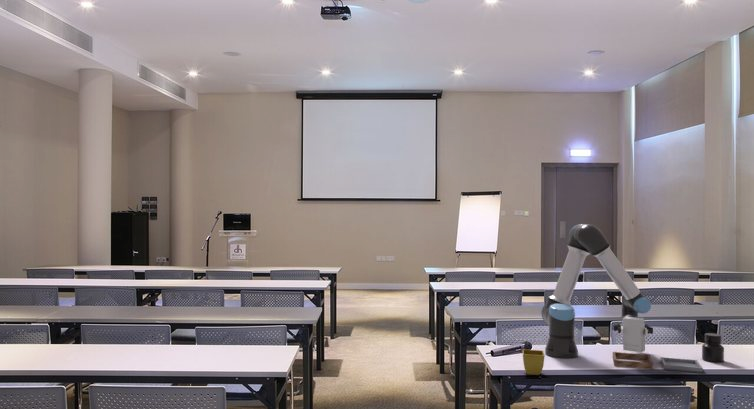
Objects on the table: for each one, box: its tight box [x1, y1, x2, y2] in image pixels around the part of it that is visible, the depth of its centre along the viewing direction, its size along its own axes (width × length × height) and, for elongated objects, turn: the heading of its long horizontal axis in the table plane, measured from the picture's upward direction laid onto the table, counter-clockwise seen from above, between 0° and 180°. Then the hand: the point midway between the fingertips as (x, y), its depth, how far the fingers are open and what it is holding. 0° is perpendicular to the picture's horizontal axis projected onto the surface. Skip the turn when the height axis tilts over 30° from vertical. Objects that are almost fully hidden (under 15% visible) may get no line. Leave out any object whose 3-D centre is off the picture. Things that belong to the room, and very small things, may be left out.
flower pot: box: [521, 349, 546, 376], centre depth 258 cm, size 9×9×9 cm
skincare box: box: [622, 317, 646, 353], centre depth 278 cm, size 8×6×15 cm
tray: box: [659, 356, 704, 374], centre depth 271 cm, size 15×15×2 cm
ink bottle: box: [701, 332, 725, 363], centre depth 284 cm, size 10×9×12 cm
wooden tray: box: [612, 351, 654, 370], centre depth 278 cm, size 16×17×2 cm
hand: (634, 332), depth 274 cm, fingers closed on skincare box, 9 cm apart
